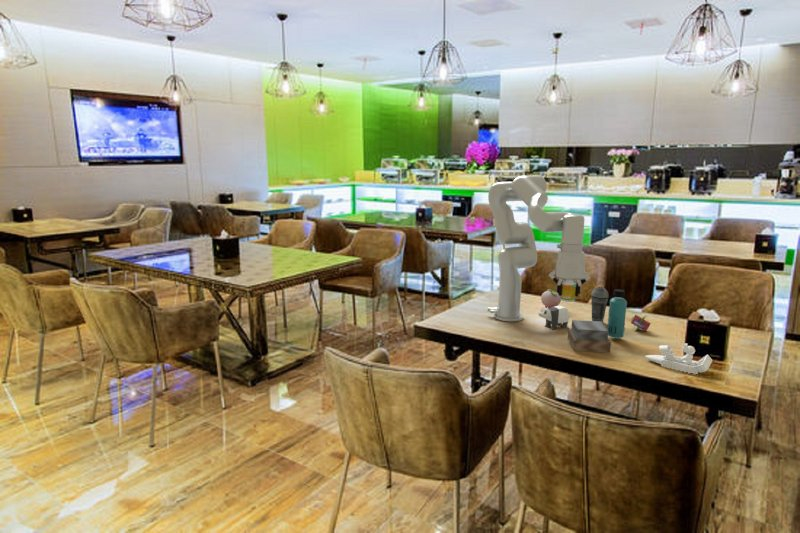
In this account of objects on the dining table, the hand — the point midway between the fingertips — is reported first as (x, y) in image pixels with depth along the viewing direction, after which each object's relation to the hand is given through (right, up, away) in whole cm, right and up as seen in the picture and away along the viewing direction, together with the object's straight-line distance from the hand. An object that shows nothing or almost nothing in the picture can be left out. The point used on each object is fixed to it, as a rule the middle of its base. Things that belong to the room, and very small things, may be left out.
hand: (568, 294), depth 196 cm
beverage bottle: (+22, -18, +10) cm, 30 cm away
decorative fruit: (+7, -10, +49) cm, 50 cm away
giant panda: (+2, -15, +24) cm, 28 cm away
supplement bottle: (0, -2, 0) cm, 2 cm away
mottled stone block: (+9, -19, +3) cm, 21 cm away
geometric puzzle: (+36, -16, +20) cm, 44 cm away
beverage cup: (+23, -14, +31) cm, 41 cm away
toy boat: (+32, -24, -16) cm, 43 cm away
